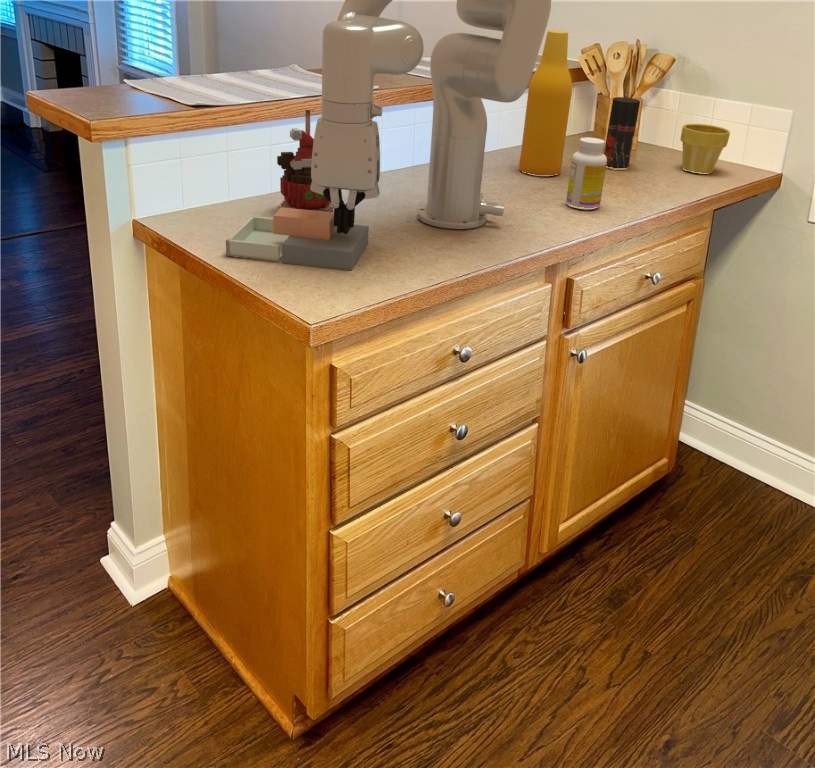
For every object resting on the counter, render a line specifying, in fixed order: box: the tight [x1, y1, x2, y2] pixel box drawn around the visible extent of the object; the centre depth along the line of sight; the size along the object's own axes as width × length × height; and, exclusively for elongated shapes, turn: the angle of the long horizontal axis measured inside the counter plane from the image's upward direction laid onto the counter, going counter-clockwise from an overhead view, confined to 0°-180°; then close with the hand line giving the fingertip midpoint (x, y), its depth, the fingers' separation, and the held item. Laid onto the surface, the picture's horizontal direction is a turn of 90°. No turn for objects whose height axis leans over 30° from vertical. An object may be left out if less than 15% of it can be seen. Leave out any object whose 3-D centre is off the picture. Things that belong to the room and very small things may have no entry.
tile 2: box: [301, 210, 336, 240], centre depth 138 cm, size 4×4×3 cm
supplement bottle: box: [565, 136, 607, 208], centre depth 168 cm, size 7×7×13 cm
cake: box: [276, 108, 334, 212], centre depth 154 cm, size 11×9×18 cm
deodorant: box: [603, 96, 641, 168], centre depth 196 cm, size 6×6×15 cm
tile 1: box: [272, 206, 308, 237], centre depth 139 cm, size 4×4×3 cm
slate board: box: [281, 224, 370, 272], centre depth 139 cm, size 11×13×3 cm
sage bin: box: [225, 215, 289, 263], centre depth 140 cm, size 8×13×3 cm, turn 171°
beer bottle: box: [518, 29, 573, 175], centre depth 185 cm, size 9×9×29 cm
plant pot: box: [680, 123, 731, 173], centre depth 199 cm, size 10×10×10 cm
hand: (343, 230), depth 138 cm, fingers closed
